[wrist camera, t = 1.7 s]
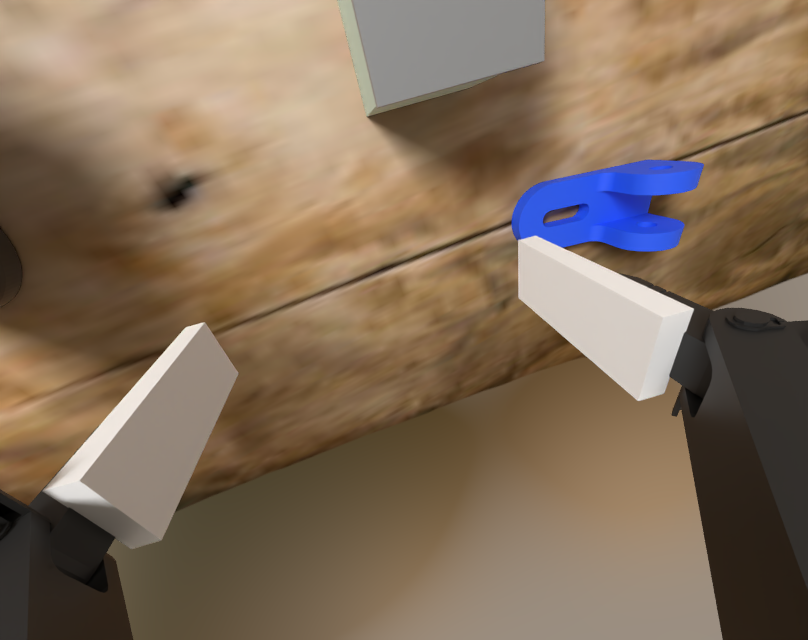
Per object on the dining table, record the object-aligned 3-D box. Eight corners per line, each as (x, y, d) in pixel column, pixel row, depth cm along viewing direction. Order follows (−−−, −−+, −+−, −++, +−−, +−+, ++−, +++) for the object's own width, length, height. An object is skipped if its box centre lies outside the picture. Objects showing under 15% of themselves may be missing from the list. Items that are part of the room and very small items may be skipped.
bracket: (646, 159, 38) (722, 163, 30) (630, 225, 42) (694, 242, 35) (511, 188, 37) (556, 199, 29) (510, 252, 41) (549, 277, 34)
